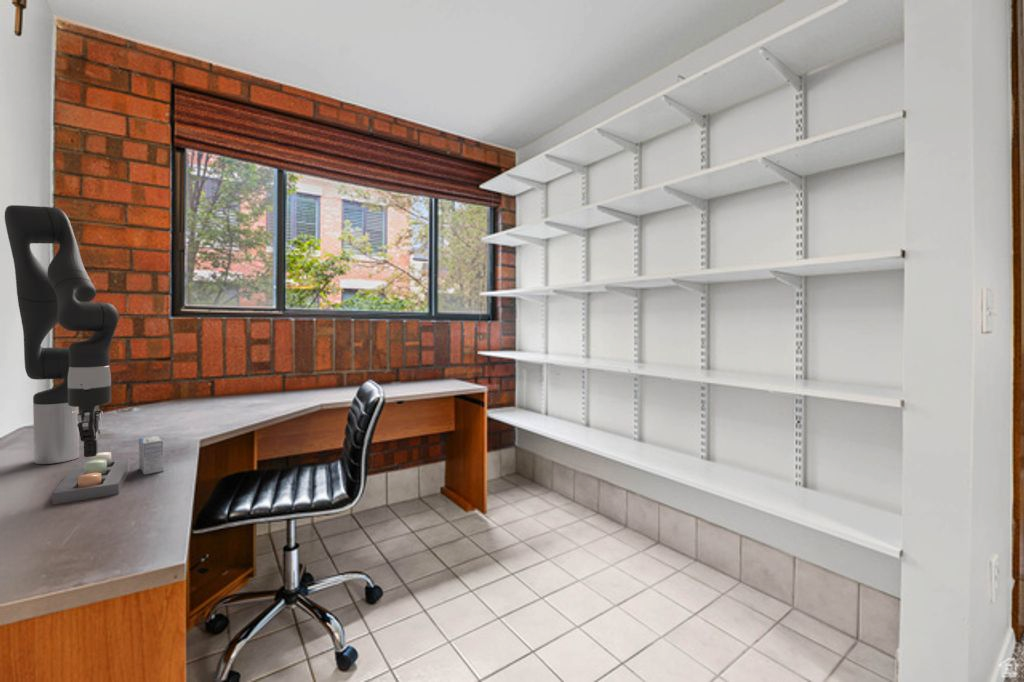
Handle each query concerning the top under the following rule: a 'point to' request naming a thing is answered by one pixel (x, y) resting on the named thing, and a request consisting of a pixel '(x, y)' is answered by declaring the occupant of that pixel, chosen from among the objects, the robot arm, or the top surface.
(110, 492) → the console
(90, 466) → the sage button
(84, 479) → the orange button
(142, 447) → the medicine box
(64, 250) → the robot arm
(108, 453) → the ivory button
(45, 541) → the top surface
